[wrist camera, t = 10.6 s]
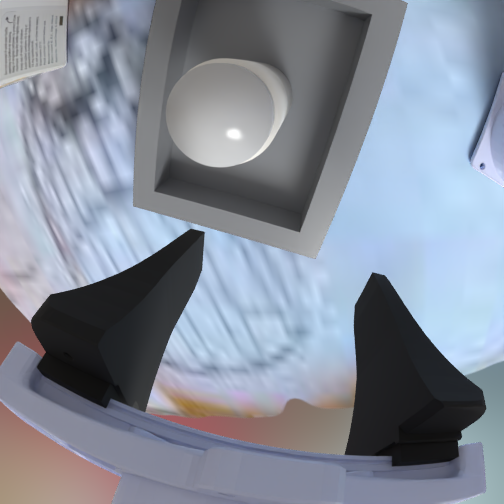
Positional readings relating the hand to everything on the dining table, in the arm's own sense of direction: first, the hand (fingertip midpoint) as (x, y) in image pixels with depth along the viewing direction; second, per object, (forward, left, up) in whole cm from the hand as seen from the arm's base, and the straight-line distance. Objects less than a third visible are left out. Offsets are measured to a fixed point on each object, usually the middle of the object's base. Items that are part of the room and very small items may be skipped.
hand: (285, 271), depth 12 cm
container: (+24, -9, -10) cm, 27 cm away
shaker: (+4, -5, -9) cm, 11 cm away
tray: (+4, -5, -9) cm, 11 cm away
